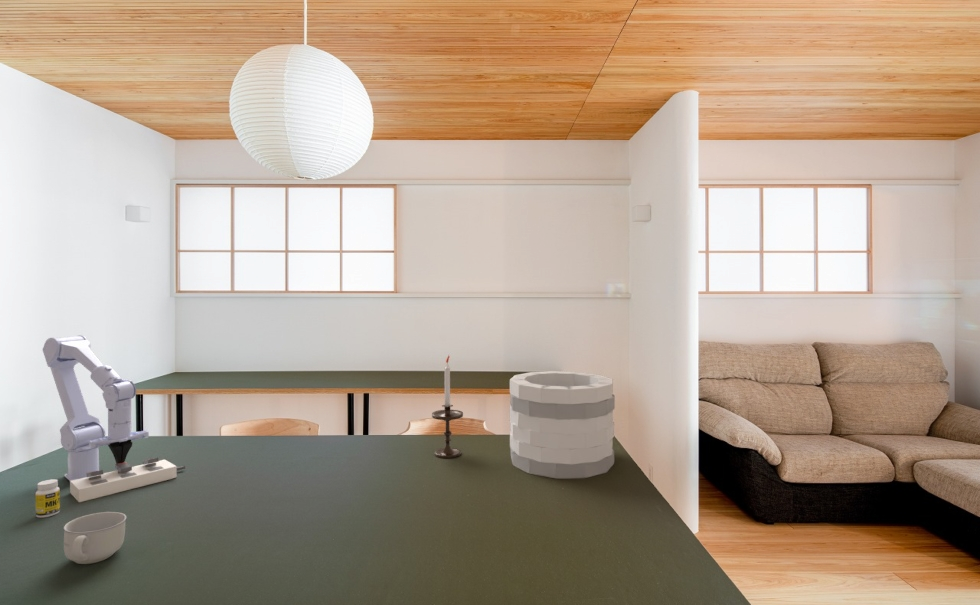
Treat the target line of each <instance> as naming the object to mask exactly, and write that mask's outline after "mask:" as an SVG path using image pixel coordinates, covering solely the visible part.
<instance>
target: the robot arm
mask: <svg viewBox="0 0 980 605" xmlns="http://www.w3.org/2000/svg"><path fill="white" fill-rule="evenodd" d="M41 351H42V353H43V355H44V359H45V362H46V366H47V367H49V368H50V372H51V375H52V378H53V380H54V383H55V386H56V389H57V392H58V396H59V398H60V401H61V405H62V407H63V410H64V415H65V416H66V422H65V423H64V424H63V425H62V426H61V427H60V429H59V432H60V433H59V434H60V445H61V446H62V448H63V449H64V450H65V451H66V452H68V454H67V473H65V474H64V477H65V478H66V479H67V480H68V481H69V482H70V481H72V480H76V479H81V478H85V477H87V474H86V473H89V472H93V471H99V470H100V459H99V458H100V455H99V454H100V452H99V450H100V449H99V448H100V447H105V446H108V448H109V449H110V451H111V453H112V455H113V458H114V460H115V465H116V464H119V463H123V462H126V458H127V456H128V454H129V451H130V450H131V448H133V441H135V440H139V439H141V440H142V439H148V438H149V431H148V430H141V431H140V430H139V431H132V399H133V398H135V396H136V394H137V387H136V385H135V383H134V382H133V380H130V379H126V378H122V377H121V376H120V374H118V373H117V371H115V369H113V367H112V366H110V365H108V364H107V365H105V364H103V363H102V362H101V361H100V359H98V357H97V356H96V355H95V354H94V352H93V351H92V349H91V341H89V340H88V338H87V337H86V336H85V335H82V334H81V335H75V336H64V337H49V338H48V339H46V340H45V342H44V345H43V347H42V350H41ZM77 364H81V365H82V366H83V367H84V368H85V369H86V370H88V371H89V372H90V380H92V381H93V383H95V385H96V386H97V387H99V389H101V391H102V397H103V400H104V402H105V407H106V409H107V436H106V429H105V427H104V426H103V425H102V424H101V422H100V418H99V417H97V416H94V415H91V414H89V411H88V408H87V406H86V402H85V399H84V396H83V393H82V390H81V387H80V384H79V381H78V377H77V375H76V372H75V370H74V368H75V366H76V365H77Z"/></svg>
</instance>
